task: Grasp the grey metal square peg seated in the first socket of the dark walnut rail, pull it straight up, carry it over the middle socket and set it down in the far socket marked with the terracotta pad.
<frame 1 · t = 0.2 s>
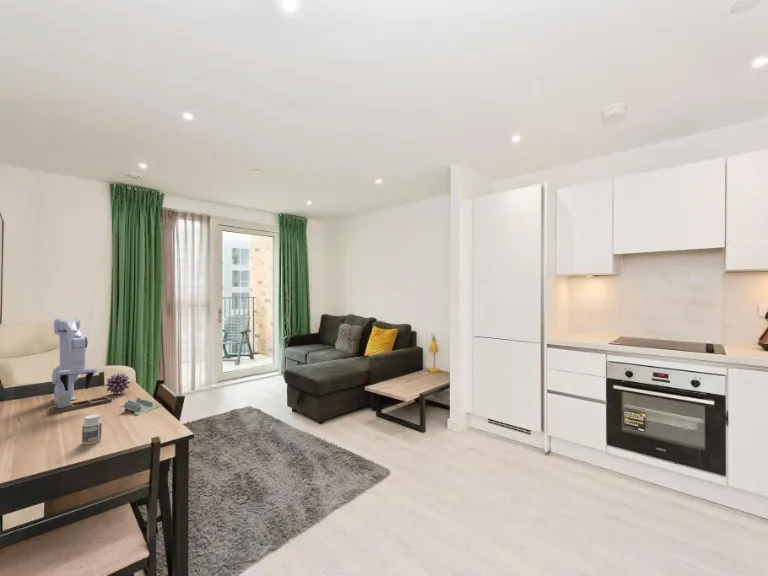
hand: (77, 389, 174), 10 cm above the table, tool pointing down, fingers open, 7 cm apart
pill bottle: (91, 442, 137), on the table
spiky ball: (117, 394, 202), on the table
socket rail: (81, 406, 180), on the table
square peg: (62, 410, 174), resting in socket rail
metal bracket: (139, 411, 175), on the table
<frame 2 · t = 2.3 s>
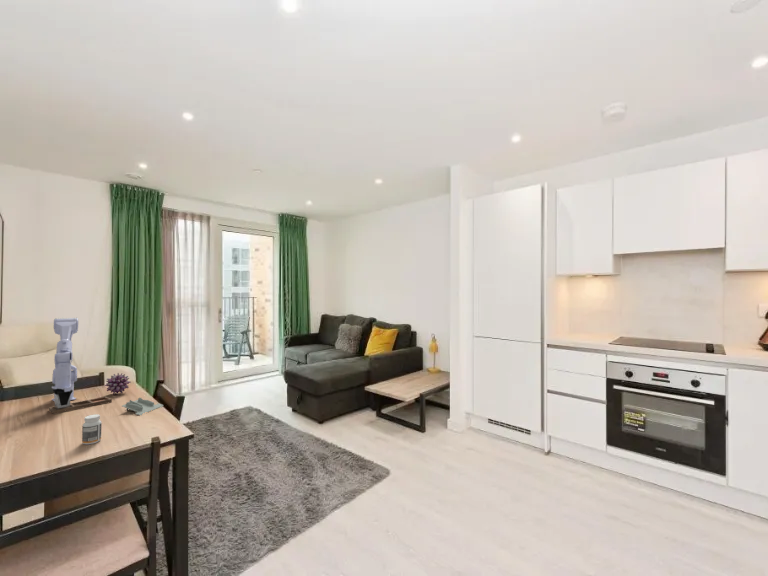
hand: (62, 404, 174), 3 cm above the table, tool pointing down, fingers closed on square peg, 5 cm apart
square peg: (62, 410, 174), resting in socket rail, touching gripper
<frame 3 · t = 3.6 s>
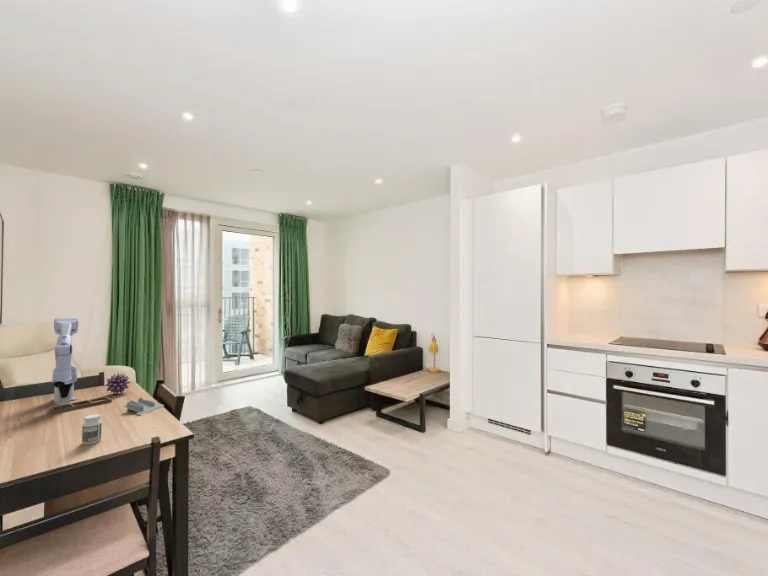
hand: (62, 396, 174), 6 cm above the table, tool pointing down, fingers closed on square peg, 5 cm apart
square peg: (62, 402, 174), point 4 cm above the table, touching gripper
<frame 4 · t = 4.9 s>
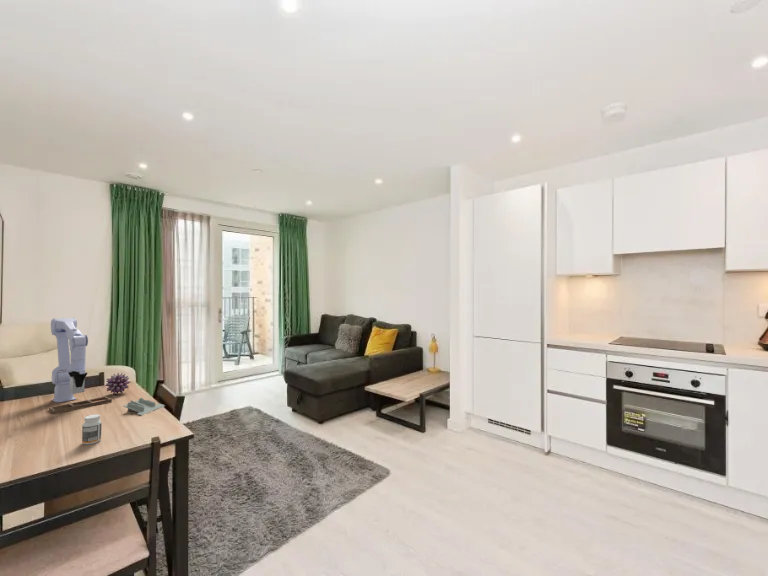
hand: (77, 386, 179), 10 cm above the table, tool pointing down, fingers closed on square peg, 5 cm apart
square peg: (77, 392, 178), point 7 cm above the table, touching gripper
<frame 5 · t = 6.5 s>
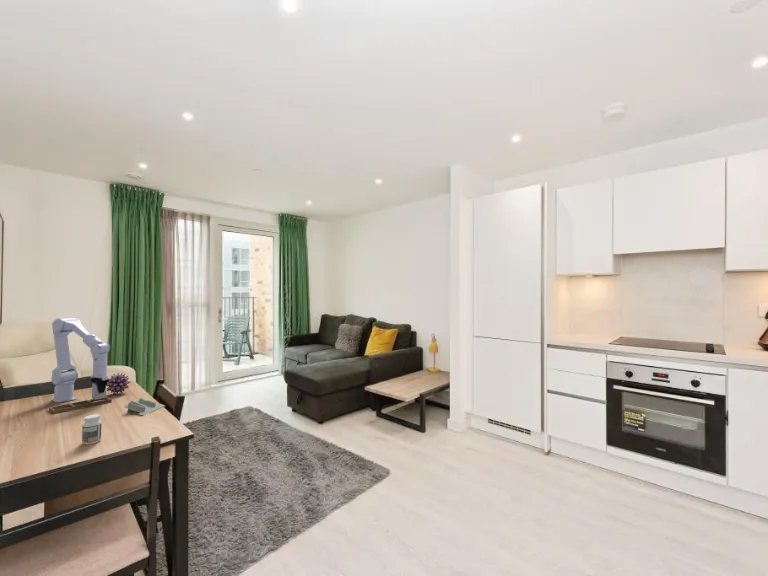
hand: (99, 392, 186), 5 cm above the table, tool pointing down, fingers closed on square peg, 5 cm apart
square peg: (98, 397, 186), point 2 cm above the table, touching gripper
when the fingers open (4 cm above the table, at t = 7.6 s): square peg stays where it is, resting on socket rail.
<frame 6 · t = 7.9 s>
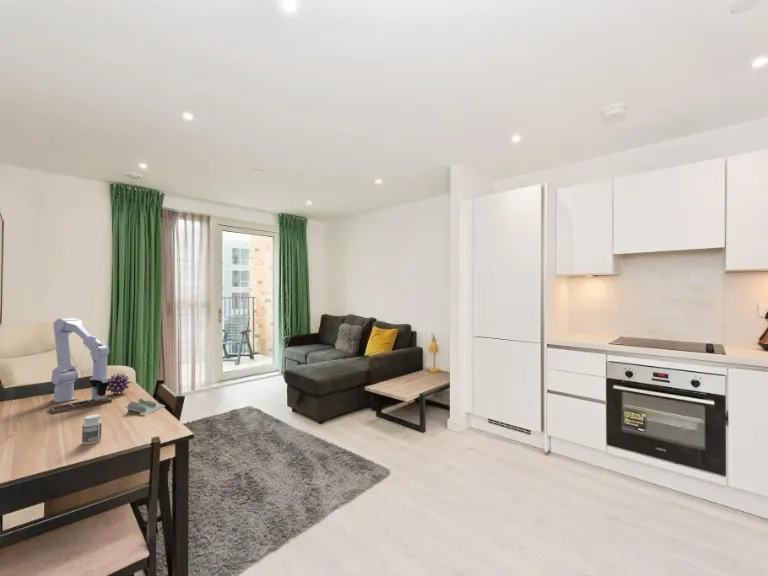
hand: (99, 394, 186), 4 cm above the table, tool pointing down, fingers open, 7 cm apart
square peg: (98, 402, 186), resting on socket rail
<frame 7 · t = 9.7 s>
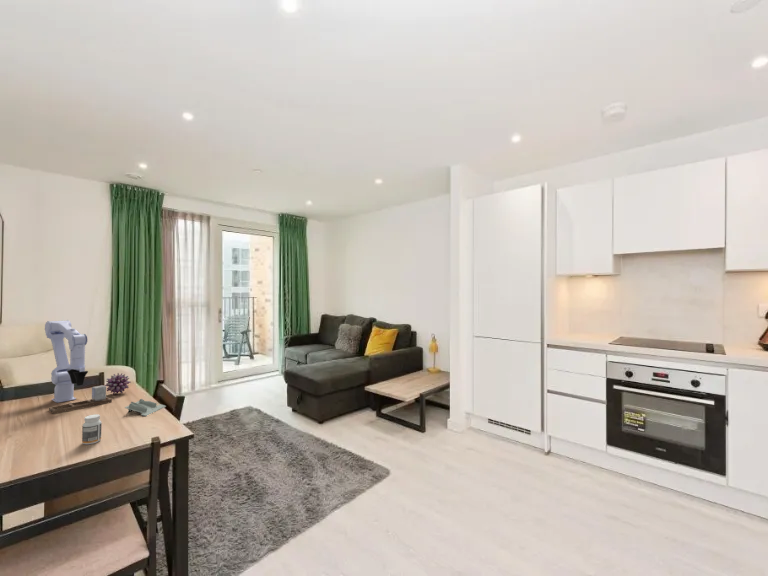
hand: (77, 384, 183), 10 cm above the table, tool pointing down, fingers open, 7 cm apart
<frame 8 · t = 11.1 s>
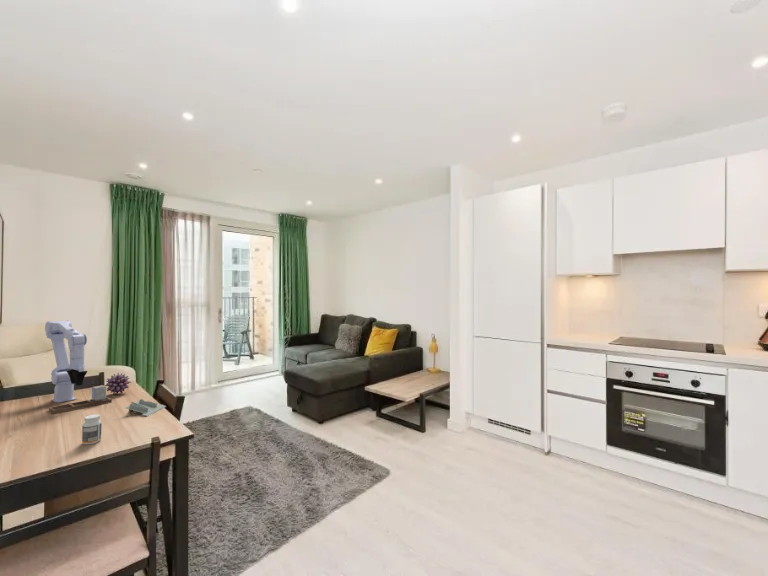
hand: (76, 384, 183), 10 cm above the table, tool pointing down, fingers open, 7 cm apart
at the end: square peg 0.2 cm from the target spot on the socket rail, point 0.3 cm above the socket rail's base; square peg tilted 0°; the gripper is holding nothing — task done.
